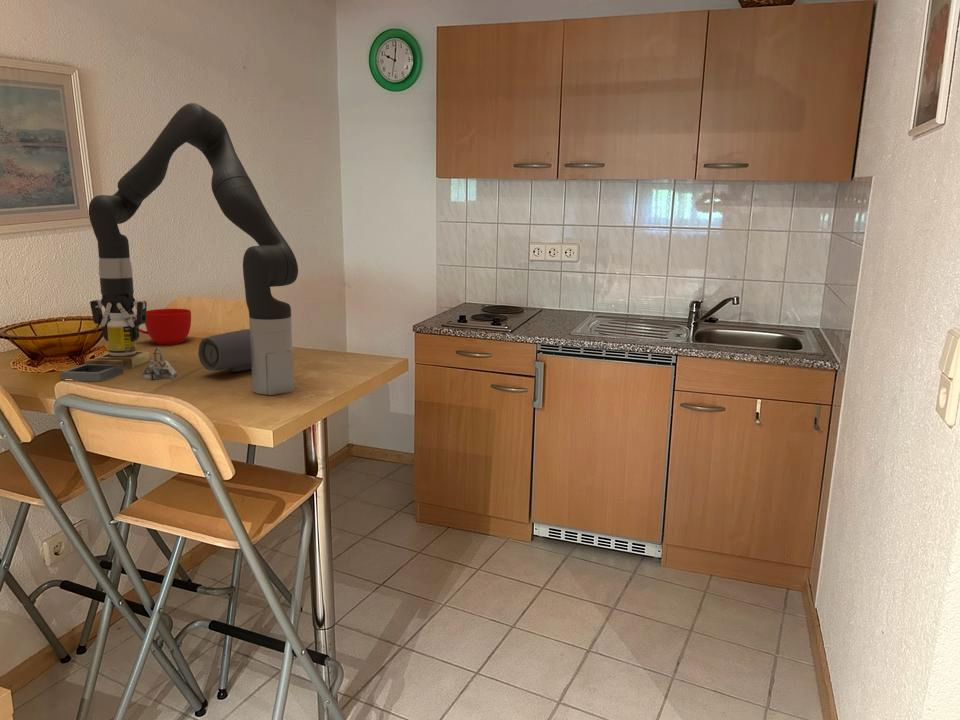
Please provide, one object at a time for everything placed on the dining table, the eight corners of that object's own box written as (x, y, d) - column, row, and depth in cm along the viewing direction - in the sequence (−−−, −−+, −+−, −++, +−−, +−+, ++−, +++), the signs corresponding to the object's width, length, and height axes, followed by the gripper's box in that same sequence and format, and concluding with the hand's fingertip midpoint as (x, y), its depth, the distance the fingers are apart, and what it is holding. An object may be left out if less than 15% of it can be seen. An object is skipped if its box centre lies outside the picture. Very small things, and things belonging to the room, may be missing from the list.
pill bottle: (128, 357, 184) (125, 314, 182) (104, 356, 184) (100, 313, 182) (140, 352, 190) (137, 310, 188) (117, 352, 190) (113, 310, 188)
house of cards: (124, 384, 167) (122, 351, 165) (141, 376, 175) (139, 345, 174) (163, 385, 167) (161, 352, 165) (178, 376, 176) (176, 345, 174)
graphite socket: (122, 373, 177) (122, 365, 177) (100, 381, 168) (99, 373, 167) (85, 371, 178) (84, 363, 177) (61, 380, 168) (60, 372, 168)
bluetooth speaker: (222, 378, 173) (220, 337, 171) (197, 373, 178) (195, 333, 176) (293, 363, 192) (292, 326, 190) (269, 358, 197) (267, 322, 195)
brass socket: (149, 360, 192) (148, 351, 191) (132, 368, 183) (132, 358, 182) (113, 360, 192) (113, 350, 191) (95, 367, 183) (94, 357, 182)
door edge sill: (123, 369, 181) (122, 360, 180) (121, 370, 179) (120, 361, 179) (87, 369, 180) (86, 359, 180) (85, 370, 179) (84, 360, 179)
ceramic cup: (138, 341, 220) (135, 308, 218) (196, 340, 223) (194, 308, 221) (126, 349, 207) (123, 314, 205) (188, 348, 210) (185, 314, 208)
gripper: (151, 275, 186) (155, 339, 189) (97, 274, 187) (103, 337, 190) (135, 277, 179) (140, 344, 182) (79, 276, 180) (86, 342, 183)
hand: (121, 340), depth 186 cm, fingers closed on pill bottle, 6 cm apart
